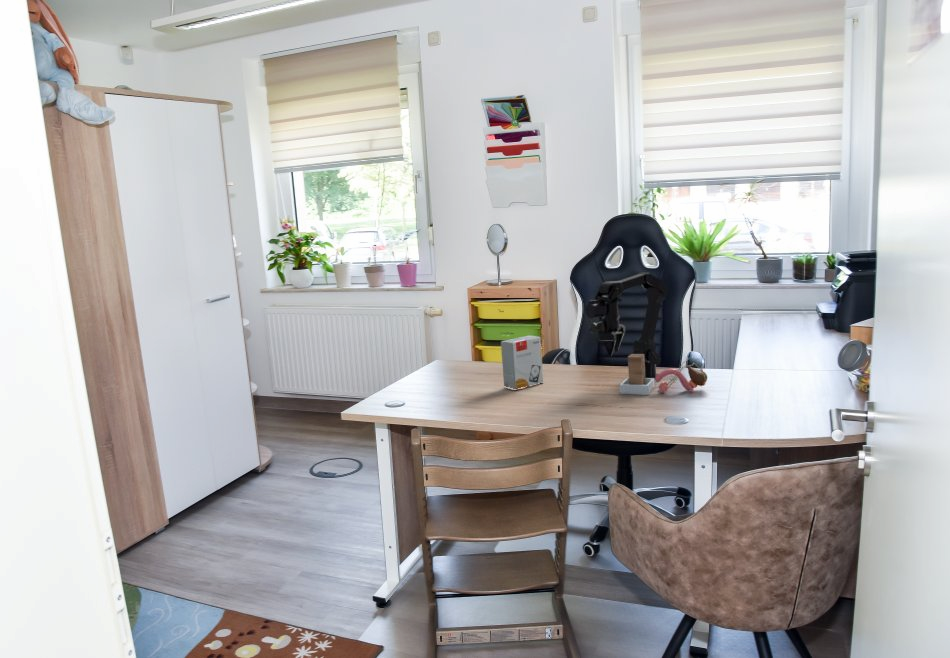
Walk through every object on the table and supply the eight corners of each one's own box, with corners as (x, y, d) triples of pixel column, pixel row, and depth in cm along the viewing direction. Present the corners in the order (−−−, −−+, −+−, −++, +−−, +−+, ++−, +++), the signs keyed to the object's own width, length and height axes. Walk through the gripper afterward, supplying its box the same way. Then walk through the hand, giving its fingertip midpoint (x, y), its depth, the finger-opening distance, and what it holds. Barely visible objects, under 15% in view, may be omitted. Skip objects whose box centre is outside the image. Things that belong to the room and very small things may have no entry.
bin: (627, 386, 269) (626, 377, 268) (654, 387, 264) (654, 378, 264) (620, 393, 260) (619, 384, 259) (648, 394, 255) (648, 385, 254)
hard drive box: (515, 391, 277) (511, 343, 273) (503, 388, 283) (499, 341, 280) (544, 383, 286) (540, 336, 282) (532, 380, 292) (528, 334, 288)
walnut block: (632, 386, 265) (631, 354, 263) (645, 387, 263) (644, 354, 261) (629, 390, 261) (627, 356, 259) (642, 390, 259) (641, 357, 256)
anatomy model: (649, 378, 264) (678, 345, 259) (681, 403, 263) (710, 370, 258) (649, 386, 253) (679, 351, 248) (682, 412, 252) (713, 378, 247)
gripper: (597, 310, 278) (599, 348, 280) (583, 319, 261) (586, 359, 264) (624, 310, 273) (626, 348, 276) (612, 318, 257) (614, 359, 259)
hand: (613, 354), depth 269 cm, fingers open, 9 cm apart
